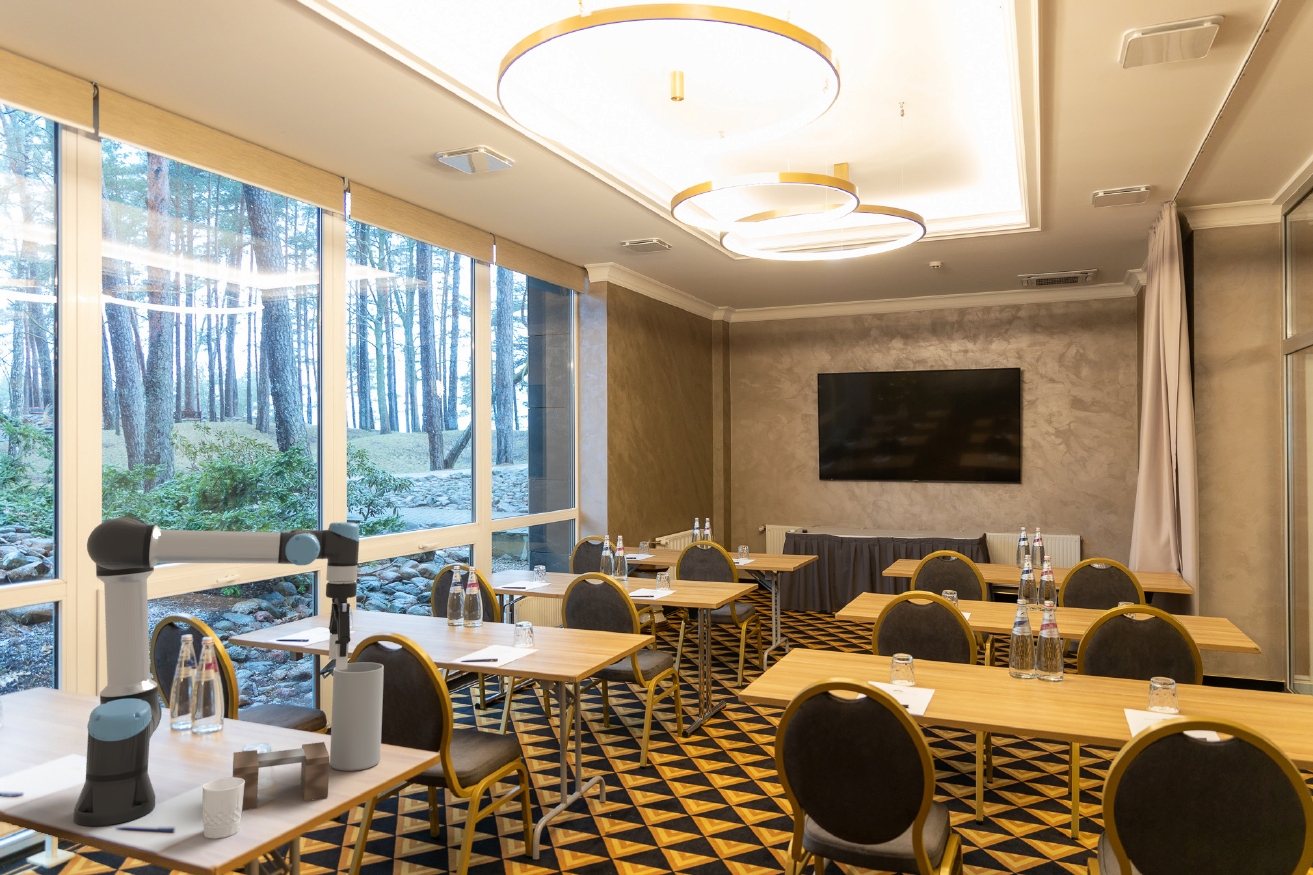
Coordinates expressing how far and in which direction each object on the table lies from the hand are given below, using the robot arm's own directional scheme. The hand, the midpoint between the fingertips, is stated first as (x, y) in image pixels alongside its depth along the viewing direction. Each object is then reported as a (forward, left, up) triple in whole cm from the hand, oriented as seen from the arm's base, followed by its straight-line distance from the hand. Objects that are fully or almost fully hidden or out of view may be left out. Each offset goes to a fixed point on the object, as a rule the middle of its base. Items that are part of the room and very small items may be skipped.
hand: (337, 664), depth 215 cm
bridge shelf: (-13, -14, -27) cm, 33 cm away
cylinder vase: (+6, +2, -27) cm, 27 cm away
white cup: (-25, -31, -27) cm, 49 cm away
